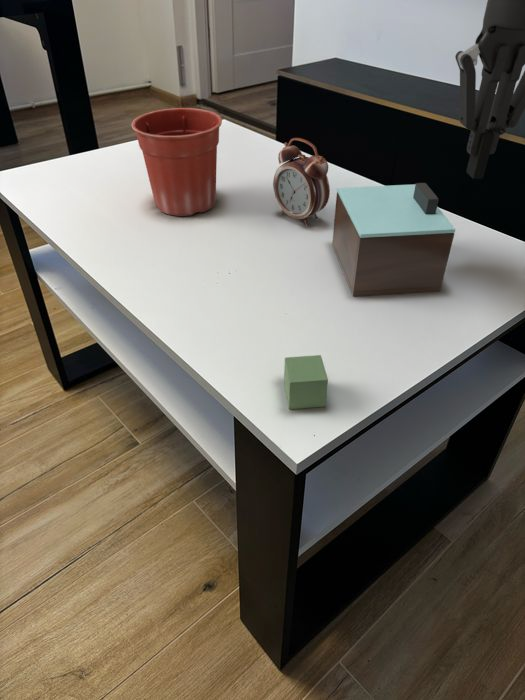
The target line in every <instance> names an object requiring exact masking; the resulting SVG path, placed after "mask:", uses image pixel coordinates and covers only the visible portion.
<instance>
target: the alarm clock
mask: <svg viewBox="0 0 525 700" xmlns="http://www.w3.org/2000/svg"><path fill="white" fill-rule="evenodd" d="M293 141H298V142H301V143H305V144H306V145H308V146H310V147H311V148H312V150H313V152H314V155H313V154H312V155H310V156H306V155H305V154H303V153H302V151H301V149H300V148H299V147H298V146H296V145H292V143H293ZM283 145H284V147H282V149H281V150H280V151H279V152H278V157H277V158H278V159H277V160H278V164H279V167H277V169H276V170H275V173H274V176H273V184H272V185H273V192H274V196H275V199H276V201H277V202H276V203H278V205H279V207H280V208H281V212H280V215H281V216H283V215H284V214H286V215H288V216H289V217H290V218H292V219H297V220H303V221H304V223H305V226H306V227H309V223H308V219H307V218H309V217H312V216H314V217H315V220H318V219H319V217H318V216H317V215H318V214H317V213H319V212H320V211H322V210H323V209H325V207H326V206H327V204H328V202H329V200H330V195H331V193H330V191H331V189H330V187H331V186H330V183H329V178H328V172H329V163H328V161H327V160H326V158H324V156H322V155H319V153H318V149H317V147H316V146H315V144H313V143H312V142H311V141H309V140H307V139H304V138H301V137H292V138H291V139H290V140H289V142H284V144H283Z"/></svg>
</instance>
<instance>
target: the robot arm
mask: <svg viewBox="0 0 525 700" xmlns="http://www.w3.org/2000/svg"><path fill="white" fill-rule="evenodd" d="M482 19H483V20H482V29H481V30H480V32H479V34H478V35H477V37H476V39H475V41H474V42H475V43H474V44H473V45H472V46H470V47H468V48H467V49H466V50H465V51H463V50H459V51H457V52H456V54H455V56H454V57H455V58H454V59H455V61H456V64H457V66H458V69H459V123H460V124H461V125H462V126H463V127H464V128H465V129H467V130H470V133H469V136H468V141H467V146H466V152H467V153H468V154H469V160H468V163H467V166H466V171H465V172H466V174H468V175H469V177H470V178H471V179H472V180H482V179H484V176H485V173H486V172H485V171H486V169H487V164H488V162H489V157H490V155H494V154H495V152H496V150H497V146H498V143H499V139H500V136H502V135H504V134H505V133H506V132H507V130H506V129H509V128H510V129H512V128H515V127H516V126H517V124H518V123H519V121H520V119H521V118H522V115H523V113H524V111H525V70H524V71H523V73H522V70H523V68H524V66H525V0H487V2H486V6H485V11H484V14H483V18H482ZM478 57H479V58H480V62H481V65H482V69H481V80H480V85H479V88H478V93H476V92H477V91H476V90H477V87H476V86H477V72H476V71H477V70H476V67H475V66H477V65H478ZM521 74H522V75H521ZM517 82H518V83H517ZM476 94H477V97H476ZM487 126H488V127H487Z"/></svg>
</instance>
